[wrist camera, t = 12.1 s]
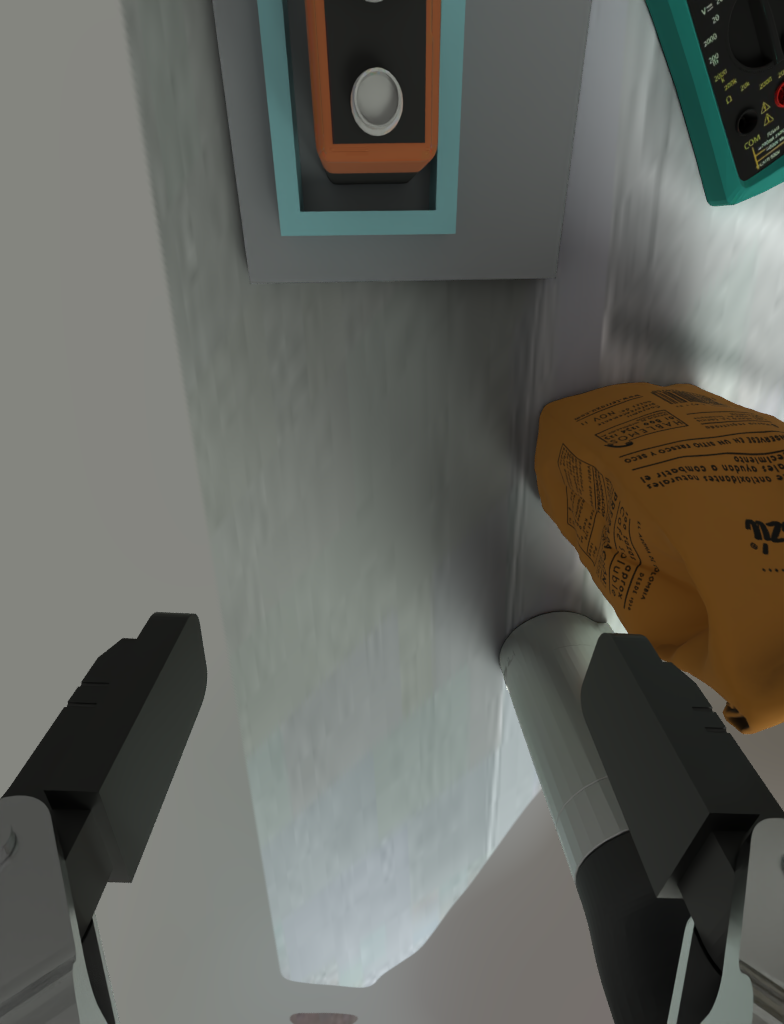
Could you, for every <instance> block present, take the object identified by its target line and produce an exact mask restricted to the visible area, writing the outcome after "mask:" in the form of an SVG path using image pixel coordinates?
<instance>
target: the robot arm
mask: <svg viewBox="0 0 784 1024" xmlns="http://www.w3.org/2000/svg"><path fill="white" fill-rule="evenodd" d="M500 666H501V670H502V673H503V676H504V680H505V684H506V686H507V689H508V691H509V694H510V696H511V699H512V702H513V706H514V708H515V711H516V714H517V717H518V720H519V723H520V726H521V729H522V732H523V735H524V737H525V740H526V743H527V746H528V749H529V752H530V755H531V758H532V761H533V764H534V767H535V769H536V772H537V775H538V778H539V781H540V784H541V787H542V790H543V793H544V796H545V798H546V801H547V804H548V807H549V810H550V813H551V816H552V819H553V822H554V825H555V827H556V830H557V833H558V836H559V839H560V842H561V845H562V848H563V850H564V853H565V856H566V859H567V862H568V865H569V868H570V871H571V874H572V876H573V879H574V882H575V885H576V888H577V891H578V894H579V896H580V899H581V902H582V905H583V909H584V912H585V915H586V919H587V922H588V926H589V931H590V935H591V940H592V945H593V949H594V954H595V958H596V963H597V967H598V971H599V975H600V978H601V982H602V985H603V989H604V992H605V995H606V998H607V1001H608V1004H609V1007H610V1011H611V1013H612V1017H613V1019H614V1023H615V1024H784V812H783V810H782V809H781V807H780V806H779V804H778V803H777V801H776V800H775V798H774V797H773V796H772V794H771V793H770V791H769V790H768V788H767V787H766V785H765V784H764V782H763V781H762V779H761V778H760V776H759V775H758V774H757V772H756V771H755V769H754V768H753V766H752V765H751V763H750V762H749V760H748V759H747V757H746V756H745V755H744V753H743V752H742V750H741V749H740V747H739V746H738V745H737V743H736V741H735V740H734V739H733V737H732V735H731V734H730V733H727V732H726V727H725V725H724V724H723V722H722V721H721V719H720V718H719V717H718V715H717V714H716V712H713V711H712V706H711V705H710V703H709V702H708V700H707V699H706V698H705V696H704V695H703V693H702V692H701V690H700V689H699V687H698V686H697V684H696V683H695V682H694V681H693V680H691V679H690V678H689V677H688V676H687V675H685V674H684V673H683V672H682V671H681V670H680V669H679V668H677V667H676V666H675V665H674V664H673V663H672V662H662V660H661V659H660V657H659V655H658V654H657V652H656V651H655V649H654V648H653V646H652V644H651V643H650V641H649V640H648V639H647V638H646V637H645V636H644V635H641V634H623V633H614V631H613V630H612V628H611V627H610V625H609V624H608V623H596V622H594V621H592V620H590V619H589V618H587V617H586V616H583V615H580V614H577V613H571V612H553V613H548V614H543V615H540V616H538V617H535V618H532V619H530V620H529V621H527V622H525V623H523V624H522V625H520V626H519V627H518V628H517V629H515V630H514V631H513V632H512V633H511V634H510V636H509V637H508V638H507V639H506V641H505V643H504V644H503V646H502V649H501V652H500ZM206 684H207V667H206V660H205V654H204V648H203V641H202V635H201V629H200V622H199V619H198V616H197V615H196V614H189V613H166V612H165V613H164V612H156V613H154V614H153V615H152V616H151V617H150V618H149V620H148V621H147V623H146V625H145V626H144V628H143V630H142V631H141V633H140V634H139V636H138V638H137V639H128V638H123V639H121V640H120V641H119V642H117V643H116V644H115V645H114V646H112V647H111V648H110V649H108V650H107V651H106V652H105V653H103V654H102V655H101V656H100V657H98V658H97V660H96V661H95V663H94V664H93V666H92V667H91V669H90V670H89V672H88V673H87V675H86V676H85V678H84V679H83V680H82V684H81V686H80V687H78V688H77V689H76V691H75V692H74V694H73V695H72V696H71V698H70V699H69V701H68V705H67V707H64V708H63V710H62V711H61V713H60V714H59V716H58V717H57V719H56V720H55V722H54V723H53V725H52V726H51V728H50V729H49V730H48V732H47V733H46V735H45V736H44V738H43V739H42V741H41V742H40V744H39V745H38V746H37V748H36V750H35V751H34V752H33V754H32V755H31V757H30V758H29V760H28V761H27V763H26V764H25V766H24V767H23V768H22V770H21V771H20V773H19V774H18V776H17V777H16V779H15V780H14V782H13V783H12V785H11V786H10V787H9V789H8V790H7V791H6V793H5V794H4V795H3V796H2V797H1V798H0V1024H120V1021H119V1017H118V1013H117V1008H116V1004H115V999H114V995H113V990H112V986H111V981H110V977H109V972H108V968H107V964H106V959H105V955H104V950H103V946H102V941H101V937H100V933H99V928H98V923H97V919H96V915H95V909H96V907H97V904H98V902H99V900H100V898H101V895H102V893H103V891H104V888H105V886H106V884H107V882H124V883H125V882H126V883H127V882H128V883H129V882H130V883H131V882H132V880H133V877H134V874H135V872H136V870H137V867H138V865H139V862H140V860H141V857H142V855H143V852H144V850H145V847H146V844H147V842H148V839H149V837H150V834H151V832H152V829H153V827H154V824H155V822H156V819H157V817H158V814H159V812H160V809H161V806H162V804H163V801H164V799H165V796H166V794H167V791H168V789H169V786H170V784H171V781H172V778H173V776H174V773H175V771H176V768H177V766H178V763H179V761H180V758H181V756H182V753H183V750H184V748H185V746H186V743H187V740H188V738H189V735H190V733H191V730H192V728H193V725H194V722H195V720H196V718H197V715H198V712H199V710H200V707H201V705H202V702H203V699H204V695H205V691H206Z"/></svg>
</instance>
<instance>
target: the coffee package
mask: <svg viewBox="0 0 784 1024" xmlns="http://www.w3.org/2000/svg"><path fill="white" fill-rule="evenodd" d="M535 472H536V475H537V486H538V491H539V495H540V498H541V503H542V507H543V509H544V511H545V512H546V513H547V514H548V515H549V516H550V518H551V519H552V520H553V521H554V522H555V523H556V525H557V526H558V528H559V529H560V531H561V533H562V534H563V536H564V537H565V538H566V539H567V540H568V541H569V542H570V543H571V544H572V545H573V546H574V547H575V549H576V550H577V552H578V554H579V558H580V561H581V562H582V564H583V565H584V566H585V567H586V568H587V569H588V571H589V572H590V574H591V576H592V579H593V581H594V582H595V584H596V585H597V587H598V588H599V589H600V591H601V592H602V594H603V595H604V597H605V598H606V599H607V600H608V602H609V603H610V604H611V605H612V607H613V608H614V610H615V612H616V614H617V616H618V618H619V620H620V621H621V623H622V624H623V626H624V627H625V629H626V630H627V632H628V634H641V635H644V636H645V637H646V638H647V639H648V640H649V641H650V643H651V644H652V646H653V648H654V649H655V651H656V652H657V654H658V655H659V657H660V659H662V660H664V661H667V662H672V663H673V664H674V665H675V666H676V667H677V668H679V669H680V670H682V671H684V672H688V673H690V674H691V675H693V676H695V677H697V678H698V679H700V680H701V681H703V682H704V683H706V684H707V685H708V686H710V687H711V688H713V689H714V690H715V691H716V692H717V693H718V694H719V695H721V696H722V697H723V698H724V699H725V700H726V701H727V703H726V707H725V709H724V711H723V714H724V717H725V719H726V721H728V722H729V723H730V724H731V725H733V726H734V727H735V728H736V729H737V730H739V731H740V732H741V733H743V734H753V733H756V732H759V731H761V730H764V729H767V728H770V727H773V726H775V725H778V724H780V723H783V722H784V422H782V421H781V420H779V419H777V418H775V417H774V416H771V415H768V414H764V413H760V412H757V411H755V410H752V409H749V408H745V407H743V406H740V405H737V404H735V403H732V402H730V401H728V400H726V399H724V398H722V397H720V396H718V395H715V394H712V393H710V392H707V391H705V390H703V389H701V388H699V387H697V386H695V385H691V384H674V385H670V386H665V387H662V386H658V385H654V384H650V383H645V382H639V383H623V384H616V385H610V386H606V387H602V388H599V389H595V390H592V391H589V392H586V393H583V394H578V395H574V396H570V397H566V398H563V399H560V400H557V401H554V402H551V403H549V404H547V405H546V406H545V407H544V408H543V410H542V412H541V415H540V419H539V433H538V439H537V445H536V452H535Z"/></svg>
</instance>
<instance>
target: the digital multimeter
mask: <svg viewBox="0 0 784 1024" xmlns="http://www.w3.org/2000/svg"><path fill="white" fill-rule="evenodd" d="M687 2H688V4H687ZM646 3H647V6H648V8H649V11H650V14H651V16H652V19H653V22H654V25H655V28H656V31H657V34H658V36H659V39H660V42H661V45H662V48H663V51H664V54H665V57H666V60H667V63H668V66H669V69H670V72H671V75H672V78H673V80H674V83H675V86H676V89H677V93H678V96H679V100H680V103H681V107H682V110H683V114H684V117H685V121H686V124H687V127H688V131H689V134H690V138H691V141H692V145H693V148H694V152H695V155H696V159H697V163H698V167H699V171H700V175H701V178H702V182H703V186H704V190H705V194H706V198H707V202H708V203H709V204H710V205H712V206H723V205H734V204H737V203H739V202H742V201H744V200H746V199H749V198H751V197H753V196H756V195H758V194H760V193H763V192H765V191H767V190H769V189H770V188H772V187H774V186H776V185H778V184H780V183H782V182H784V0H646ZM688 5H689V7H688ZM689 8H690V11H689ZM690 12H691V14H690ZM691 15H692V17H691ZM692 19H693V21H692ZM693 22H694V24H693ZM694 25H695V28H694ZM695 29H696V31H695ZM696 32H697V34H696ZM697 36H698V38H697ZM698 39H699V41H698ZM699 42H700V45H699ZM700 46H701V48H700ZM701 49H702V51H701ZM702 53H703V55H702ZM703 56H704V58H703ZM704 59H705V62H704ZM705 63H706V65H705ZM706 66H707V68H706ZM741 69H742V70H741ZM707 70H708V72H707ZM746 71H748V72H746ZM760 71H761V72H760ZM754 72H755V73H754ZM708 73H709V75H708ZM709 77H710V79H709ZM710 80H711V82H710ZM711 83H712V85H711ZM712 87H713V89H712ZM713 90H714V92H713ZM714 94H715V95H714ZM715 97H716V99H715ZM716 100H717V102H716ZM717 104H718V106H717ZM718 107H719V109H718ZM719 111H720V112H719ZM720 114H721V116H720ZM721 117H722V119H721ZM728 141H729V143H728ZM729 145H730V146H729ZM730 148H731V149H730ZM731 151H732V153H731ZM732 155H733V156H732ZM782 155H783V156H782ZM733 158H734V159H733ZM778 158H779V159H778ZM775 160H776V161H775ZM734 162H735V163H734ZM771 163H772V164H771ZM735 165H736V166H735ZM768 165H769V166H768ZM736 168H737V169H736ZM764 168H765V169H764ZM761 170H762V171H761ZM737 172H738V173H737ZM738 175H739V176H738Z"/></svg>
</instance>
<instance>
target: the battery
mask: <svg viewBox="0 0 784 1024" xmlns="http://www.w3.org/2000/svg"><path fill="white" fill-rule="evenodd" d="M305 12H306V25H307V39H308V52H309V65H310V79H311V92H312V105H313V119H314V131H315V142H316V149H317V153H318V155H319V158H320V160H321V162H322V165H323V167H324V170H325V172H326V175H327V177H328V179H329V180H330V182H331V183H333V184H336V185H349V184H403V183H408V182H409V181H410V180H411V179H412V178H413V177H414V176H415V175H416V174H417V173H418V172H419V171H420V170H421V169H422V168H423V167H424V166H425V165H426V164H427V163H428V162H430V161H431V159H432V158H433V157H434V155H435V153H436V151H437V146H438V126H439V77H440V27H441V0H305Z"/></svg>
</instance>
